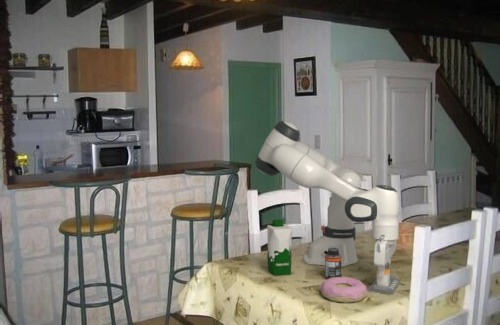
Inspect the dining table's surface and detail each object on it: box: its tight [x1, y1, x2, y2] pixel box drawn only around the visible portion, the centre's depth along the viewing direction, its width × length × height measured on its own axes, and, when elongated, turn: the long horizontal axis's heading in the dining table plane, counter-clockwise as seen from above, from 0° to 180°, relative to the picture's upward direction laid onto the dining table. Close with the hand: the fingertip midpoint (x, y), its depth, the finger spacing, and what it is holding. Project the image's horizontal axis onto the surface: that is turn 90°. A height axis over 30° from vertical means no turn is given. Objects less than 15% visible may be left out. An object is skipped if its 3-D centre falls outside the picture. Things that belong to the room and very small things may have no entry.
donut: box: [319, 276, 368, 304], centre depth 170 cm, size 16×15×5 cm
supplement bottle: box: [324, 248, 342, 280], centre depth 188 cm, size 6×6×11 cm
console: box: [368, 274, 401, 295], centre depth 179 cm, size 14×8×2 cm, turn 153°
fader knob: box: [376, 268, 391, 286], centre depth 176 cm, size 4×4×5 cm
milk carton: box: [266, 218, 293, 277], centre depth 195 cm, size 9×9×20 cm
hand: (384, 271), depth 176 cm, fingers open, 8 cm apart
